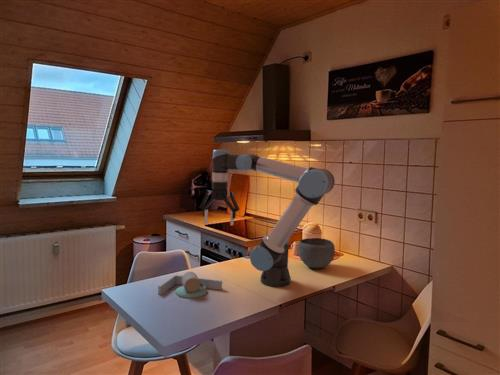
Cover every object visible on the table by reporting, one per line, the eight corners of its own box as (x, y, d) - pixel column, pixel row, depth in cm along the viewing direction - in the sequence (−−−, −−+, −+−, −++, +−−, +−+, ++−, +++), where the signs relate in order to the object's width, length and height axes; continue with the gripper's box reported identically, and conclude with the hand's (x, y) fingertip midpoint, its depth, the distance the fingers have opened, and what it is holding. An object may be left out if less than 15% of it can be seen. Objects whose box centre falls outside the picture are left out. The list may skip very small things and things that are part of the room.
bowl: (329, 261, 228) (330, 237, 226) (338, 273, 207) (340, 246, 205) (294, 261, 227) (295, 236, 226) (300, 272, 206) (301, 245, 205)
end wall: (175, 283, 184) (175, 275, 183) (160, 294, 169) (160, 286, 169) (173, 283, 184) (173, 275, 184) (158, 294, 169) (158, 285, 169)
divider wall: (222, 288, 179) (222, 280, 178) (221, 289, 177) (221, 281, 177) (175, 282, 185) (175, 274, 184) (174, 283, 184) (174, 275, 183)
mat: (210, 288, 178) (210, 287, 178) (199, 299, 165) (199, 298, 165) (183, 285, 182) (183, 283, 182) (170, 295, 169) (170, 293, 168)
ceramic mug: (184, 294, 168) (185, 277, 167) (180, 287, 176) (181, 271, 175) (207, 292, 172) (208, 275, 171) (203, 286, 180) (203, 270, 179)
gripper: (246, 182, 186) (245, 224, 188) (199, 179, 192) (198, 220, 194) (242, 183, 178) (240, 227, 180) (193, 180, 185) (192, 223, 187)
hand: (218, 224), depth 187 cm, fingers open, 13 cm apart
